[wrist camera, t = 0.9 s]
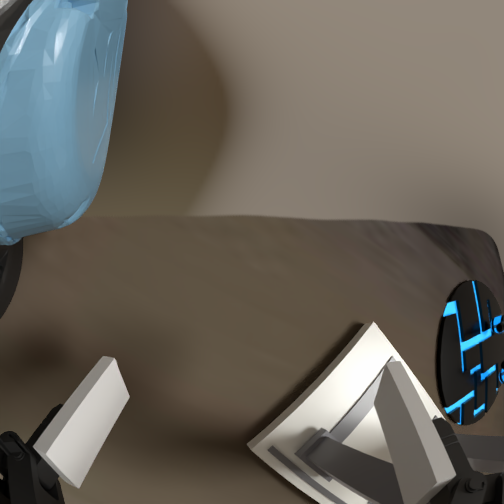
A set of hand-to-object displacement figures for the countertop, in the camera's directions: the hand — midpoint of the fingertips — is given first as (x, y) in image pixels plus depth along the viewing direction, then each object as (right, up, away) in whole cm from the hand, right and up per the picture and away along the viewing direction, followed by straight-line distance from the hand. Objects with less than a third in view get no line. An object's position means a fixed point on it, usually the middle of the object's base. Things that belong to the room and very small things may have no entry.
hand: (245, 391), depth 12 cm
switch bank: (+16, -17, +9) cm, 25 cm away
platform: (+33, -9, +18) cm, 39 cm away
